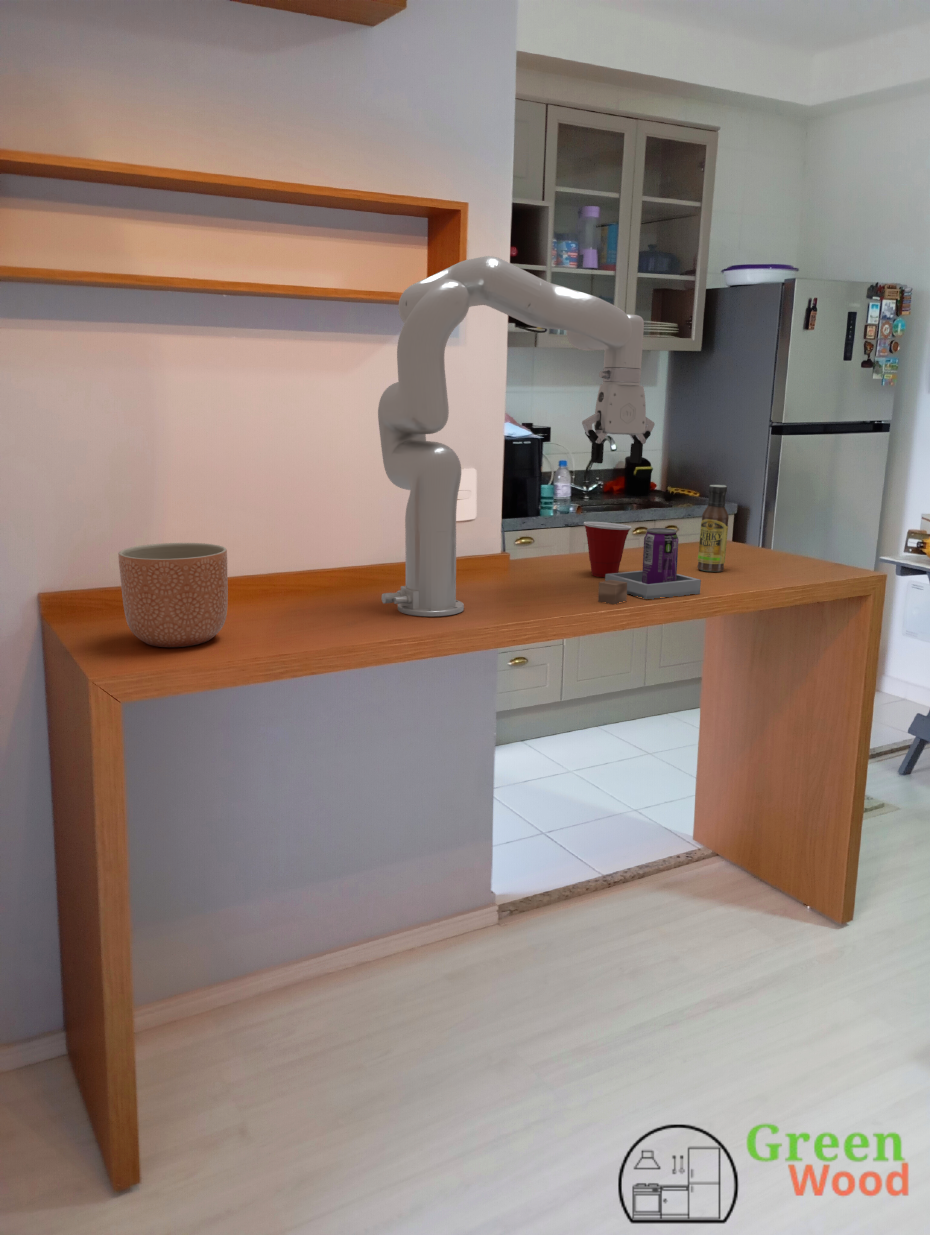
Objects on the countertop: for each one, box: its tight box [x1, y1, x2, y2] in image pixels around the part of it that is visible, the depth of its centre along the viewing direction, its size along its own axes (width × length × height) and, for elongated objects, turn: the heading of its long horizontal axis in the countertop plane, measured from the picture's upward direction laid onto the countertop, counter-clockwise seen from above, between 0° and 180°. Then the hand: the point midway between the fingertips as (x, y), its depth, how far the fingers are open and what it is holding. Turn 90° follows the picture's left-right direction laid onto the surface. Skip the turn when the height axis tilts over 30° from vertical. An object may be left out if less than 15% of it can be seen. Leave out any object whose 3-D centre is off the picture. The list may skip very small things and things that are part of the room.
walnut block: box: [597, 580, 628, 605], centre depth 200 cm, size 4×4×4 cm
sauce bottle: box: [697, 484, 730, 573], centre depth 234 cm, size 6×6×20 cm
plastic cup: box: [583, 521, 632, 578], centre depth 227 cm, size 11×11×12 cm
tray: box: [604, 569, 702, 600], centre depth 211 cm, size 14×14×3 cm
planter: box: [118, 542, 229, 648], centre depth 166 cm, size 17×17×15 cm
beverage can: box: [641, 527, 679, 584], centre depth 211 cm, size 7×7×12 cm
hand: (616, 463), depth 208 cm, fingers open, 9 cm apart
